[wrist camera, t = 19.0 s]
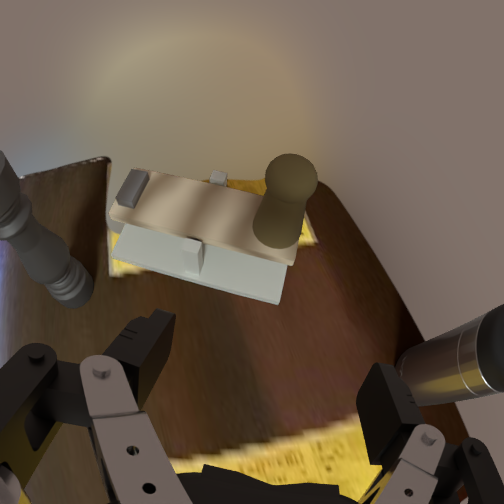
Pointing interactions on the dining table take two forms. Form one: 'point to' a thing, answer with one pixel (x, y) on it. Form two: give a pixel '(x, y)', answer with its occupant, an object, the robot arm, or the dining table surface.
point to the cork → (284, 201)
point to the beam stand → (202, 260)
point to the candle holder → (40, 245)
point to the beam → (194, 212)
